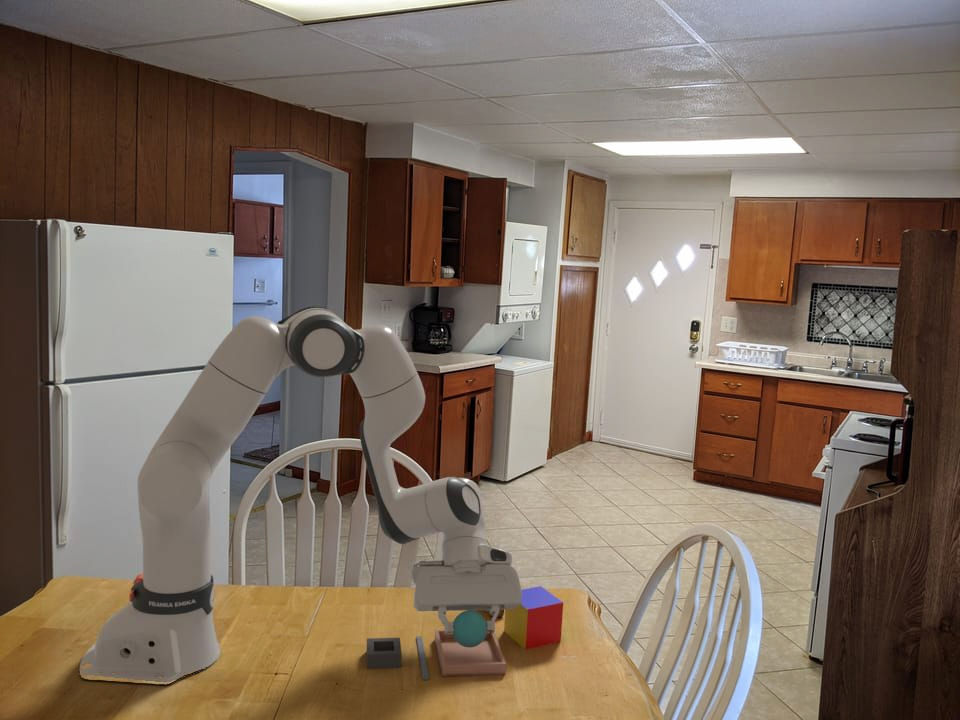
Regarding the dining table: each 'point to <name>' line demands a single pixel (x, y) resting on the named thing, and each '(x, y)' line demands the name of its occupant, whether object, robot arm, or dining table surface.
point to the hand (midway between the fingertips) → (470, 632)
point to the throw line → (422, 658)
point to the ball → (469, 628)
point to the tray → (469, 656)
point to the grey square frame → (383, 652)
